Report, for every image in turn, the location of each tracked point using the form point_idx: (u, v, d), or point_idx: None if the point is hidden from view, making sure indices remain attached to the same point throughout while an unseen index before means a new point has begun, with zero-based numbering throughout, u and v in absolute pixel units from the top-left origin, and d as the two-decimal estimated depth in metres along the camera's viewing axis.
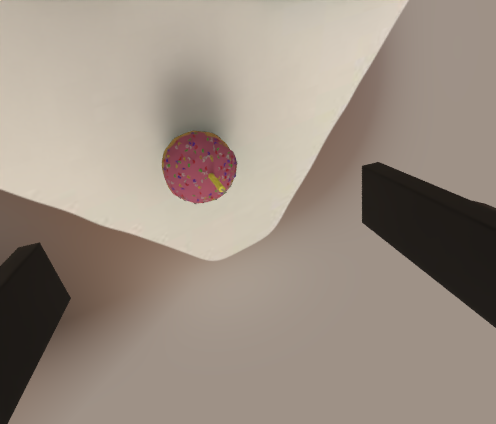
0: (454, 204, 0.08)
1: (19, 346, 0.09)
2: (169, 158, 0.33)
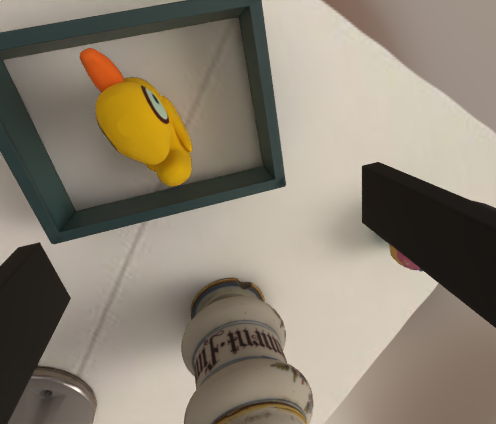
0: (454, 204, 0.08)
1: (19, 346, 0.09)
2: (414, 268, 0.36)
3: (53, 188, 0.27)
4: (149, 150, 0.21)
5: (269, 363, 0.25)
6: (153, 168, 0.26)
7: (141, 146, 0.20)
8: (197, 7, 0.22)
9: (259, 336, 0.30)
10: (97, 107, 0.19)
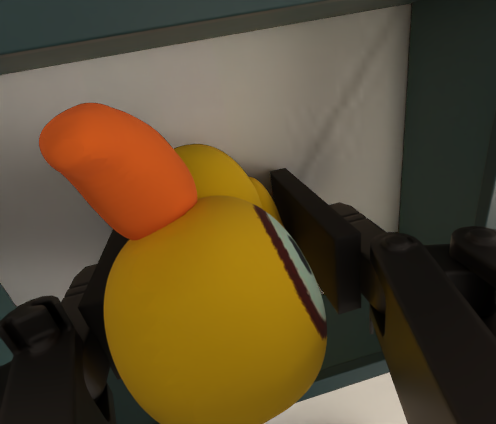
0: (312, 207, 0.10)
1: None
2: None
3: (9, 360, 0.13)
4: None
5: None
6: None
7: None
8: None
9: None
10: (112, 324, 0.05)
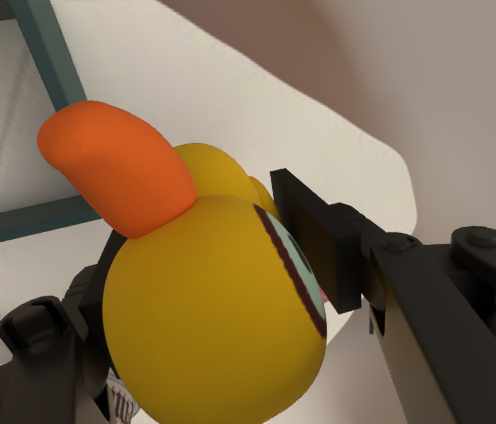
0: (312, 207, 0.10)
1: None
2: None
3: None
4: None
5: None
6: None
7: None
8: None
9: None
10: (111, 323, 0.05)
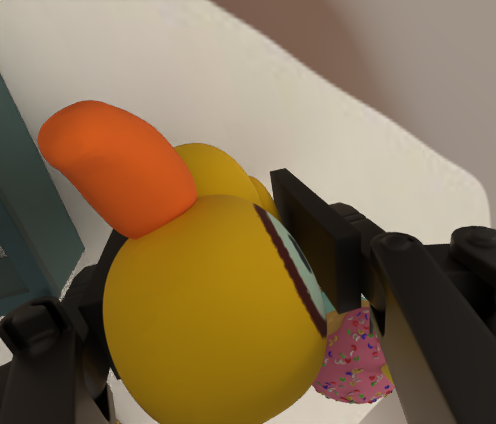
0: (312, 207, 0.10)
1: None
2: None
3: None
4: None
5: None
6: None
7: None
8: None
9: None
10: (111, 323, 0.05)
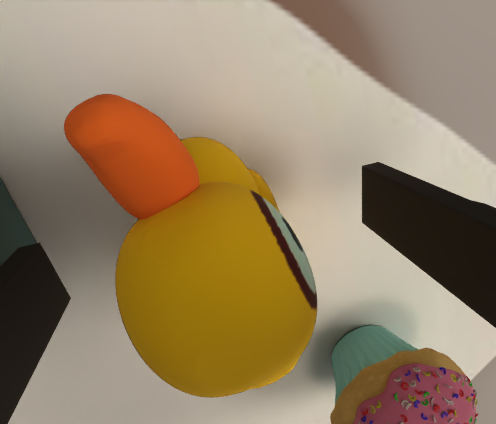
0: (454, 204, 0.08)
1: (19, 346, 0.09)
2: None
3: None
4: (268, 380, 0.07)
5: None
6: None
7: (254, 386, 0.07)
8: None
9: None
10: (124, 290, 0.06)
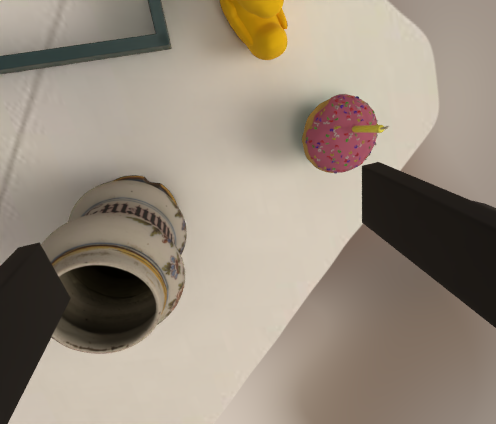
0: (454, 204, 0.08)
1: (19, 346, 0.09)
2: (327, 167, 0.33)
3: None
4: None
5: (126, 216, 0.23)
6: (252, 41, 0.28)
7: None
8: None
9: (139, 210, 0.28)
10: None
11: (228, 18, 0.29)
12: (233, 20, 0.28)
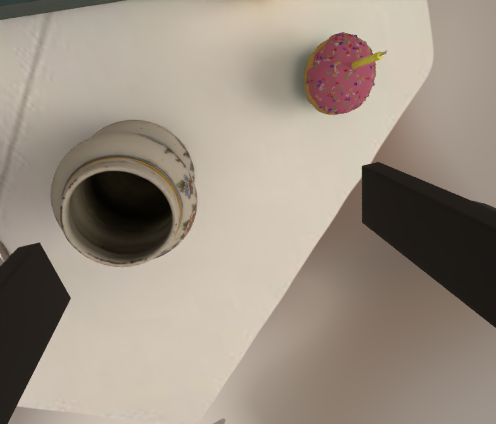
0: (454, 204, 0.08)
1: (19, 346, 0.09)
2: (328, 107, 0.35)
3: None
4: None
5: (140, 135, 0.24)
6: None
7: None
8: None
9: None
10: None
11: None
12: None
